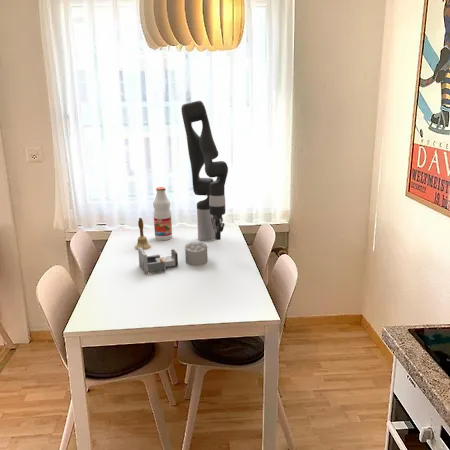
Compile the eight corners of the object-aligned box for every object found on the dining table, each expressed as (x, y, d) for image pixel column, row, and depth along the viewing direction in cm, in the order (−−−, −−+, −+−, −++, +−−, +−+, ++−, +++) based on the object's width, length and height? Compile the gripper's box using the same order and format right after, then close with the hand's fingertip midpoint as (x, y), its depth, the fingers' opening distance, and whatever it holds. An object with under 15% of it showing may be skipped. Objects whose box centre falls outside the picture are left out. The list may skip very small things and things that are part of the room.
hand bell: (149, 250, 253) (147, 220, 249) (133, 250, 254) (130, 220, 249) (152, 244, 261) (150, 215, 257) (136, 245, 261) (134, 215, 257)
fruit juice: (175, 236, 275) (172, 186, 267) (167, 241, 266) (164, 190, 258) (160, 234, 278) (156, 185, 270) (152, 239, 269) (148, 189, 261)
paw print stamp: (208, 256, 242) (207, 239, 240) (207, 266, 230) (206, 248, 228) (186, 256, 243) (186, 240, 240) (184, 266, 230) (183, 249, 228)
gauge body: (159, 262, 236) (158, 244, 233) (166, 272, 224) (165, 253, 221) (139, 265, 233) (138, 247, 230) (145, 275, 221) (144, 256, 218)
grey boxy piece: (174, 261, 236) (173, 249, 234) (180, 269, 226) (180, 256, 224) (155, 264, 232) (154, 252, 231) (161, 272, 223) (160, 259, 221)
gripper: (229, 206, 228) (230, 242, 232) (220, 200, 240) (220, 234, 244) (214, 207, 225) (215, 244, 230) (205, 201, 237) (206, 236, 242)
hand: (218, 239), depth 237 cm, fingers closed
